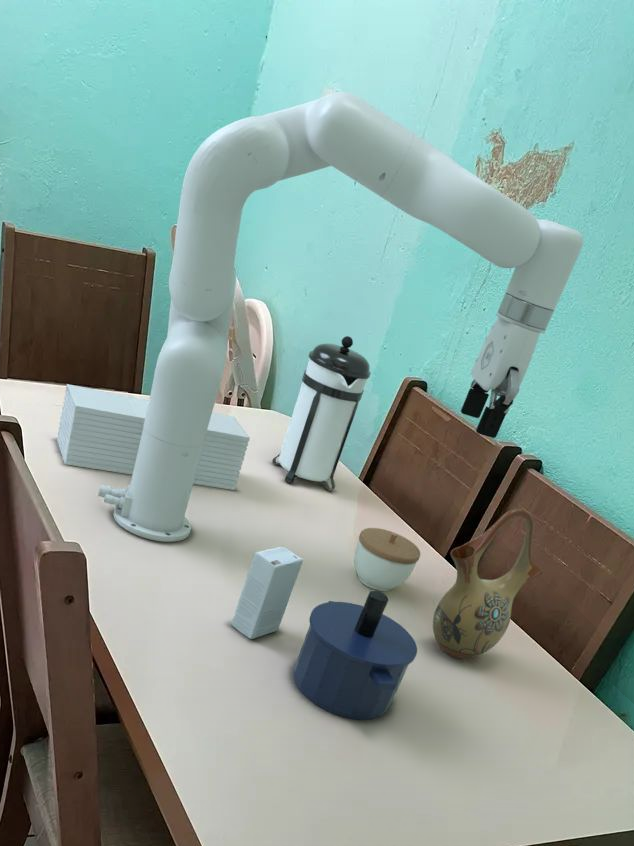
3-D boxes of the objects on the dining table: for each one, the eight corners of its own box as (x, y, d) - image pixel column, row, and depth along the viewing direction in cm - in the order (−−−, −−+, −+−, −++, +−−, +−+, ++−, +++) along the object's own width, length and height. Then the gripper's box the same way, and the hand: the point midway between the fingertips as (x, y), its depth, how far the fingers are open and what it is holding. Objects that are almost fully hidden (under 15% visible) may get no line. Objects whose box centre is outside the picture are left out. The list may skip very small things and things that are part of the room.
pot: (318, 730, 107) (341, 675, 103) (275, 643, 121) (293, 591, 117) (412, 735, 112) (437, 682, 108) (360, 651, 127) (380, 602, 123)
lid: (329, 668, 104) (348, 621, 101) (293, 603, 116) (309, 560, 112) (431, 676, 110) (452, 632, 107) (388, 614, 122) (405, 573, 118)
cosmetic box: (257, 616, 126) (281, 543, 120) (279, 632, 124) (305, 559, 118) (228, 625, 122) (252, 549, 116) (251, 642, 120) (277, 566, 114)
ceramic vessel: (423, 664, 130) (491, 514, 118) (399, 631, 137) (462, 486, 125) (511, 673, 136) (584, 532, 124) (485, 640, 143) (552, 504, 131)
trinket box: (401, 605, 145) (422, 557, 140) (341, 583, 145) (360, 533, 140) (406, 581, 154) (426, 534, 150) (349, 559, 154) (367, 512, 150)
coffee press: (349, 486, 188) (399, 350, 174) (314, 497, 175) (364, 351, 161) (285, 453, 194) (328, 318, 180) (246, 461, 181) (288, 317, 167)
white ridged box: (64, 464, 151) (75, 405, 146) (56, 440, 159) (66, 383, 154) (234, 490, 166) (250, 437, 160) (219, 467, 174) (233, 416, 168)
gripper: (485, 295, 133) (442, 402, 141) (518, 318, 118) (468, 436, 126) (529, 310, 134) (484, 415, 143) (567, 335, 120) (514, 450, 128)
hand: (477, 425), depth 135 cm, fingers open, 9 cm apart
